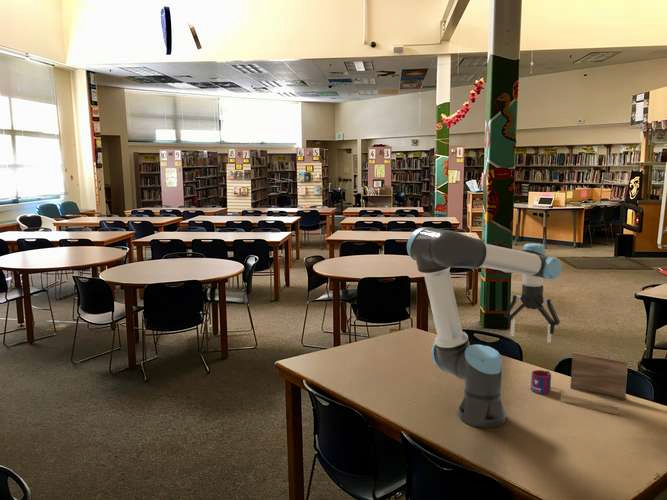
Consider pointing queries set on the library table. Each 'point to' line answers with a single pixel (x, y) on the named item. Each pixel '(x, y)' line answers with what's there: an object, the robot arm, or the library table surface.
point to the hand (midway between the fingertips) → (530, 338)
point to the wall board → (599, 375)
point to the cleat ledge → (589, 404)
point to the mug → (541, 382)
